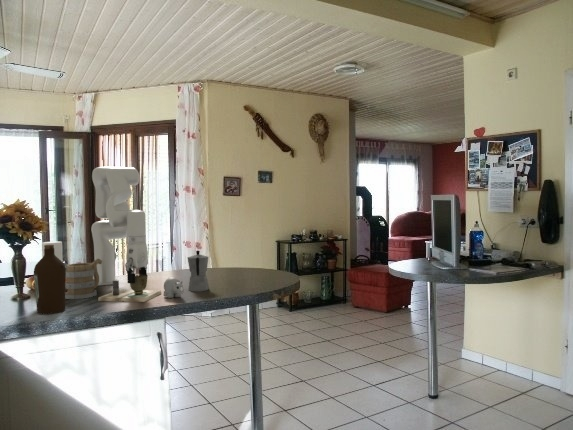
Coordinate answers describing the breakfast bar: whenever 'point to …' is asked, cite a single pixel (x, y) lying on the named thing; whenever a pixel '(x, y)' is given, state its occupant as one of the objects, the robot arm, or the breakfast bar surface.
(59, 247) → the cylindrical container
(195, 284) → the coffeepot
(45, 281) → the olive oil
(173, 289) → the chubby cartoon animal
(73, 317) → the breakfast bar surface
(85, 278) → the tankard
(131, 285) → the cup
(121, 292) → the board
